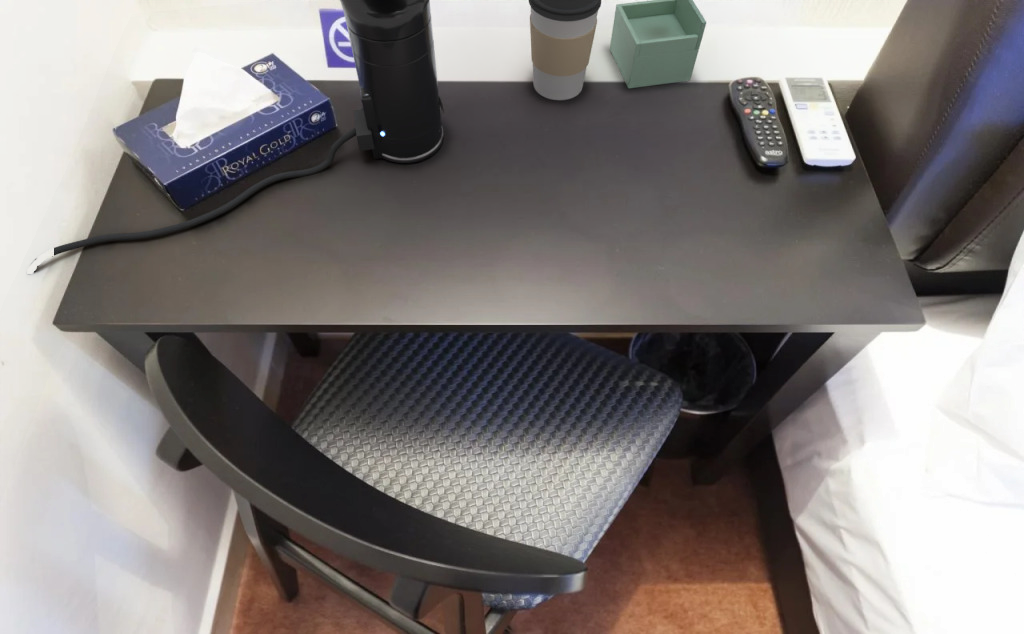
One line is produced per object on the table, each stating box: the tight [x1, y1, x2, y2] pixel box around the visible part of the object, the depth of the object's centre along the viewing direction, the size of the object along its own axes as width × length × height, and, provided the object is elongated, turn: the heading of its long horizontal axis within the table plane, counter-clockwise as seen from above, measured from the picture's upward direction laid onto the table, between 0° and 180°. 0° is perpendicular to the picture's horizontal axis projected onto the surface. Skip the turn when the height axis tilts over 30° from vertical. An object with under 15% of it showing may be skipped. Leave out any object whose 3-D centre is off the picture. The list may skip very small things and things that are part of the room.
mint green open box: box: [609, 0, 707, 89], centre depth 92 cm, size 9×9×9 cm
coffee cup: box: [528, 0, 602, 101], centre depth 87 cm, size 9×9×15 cm
